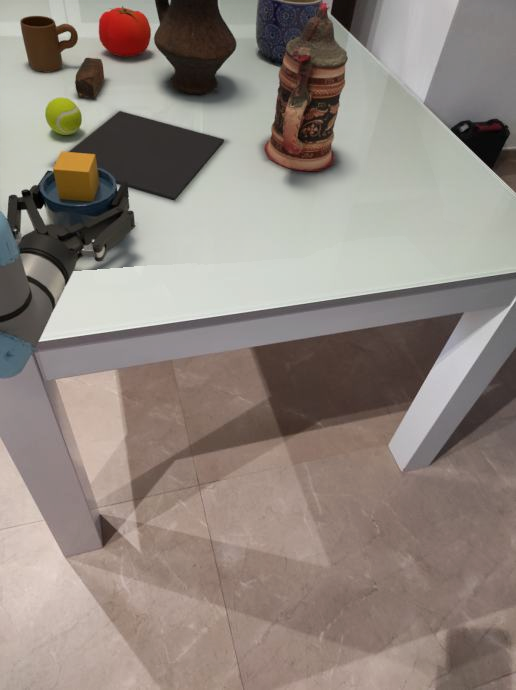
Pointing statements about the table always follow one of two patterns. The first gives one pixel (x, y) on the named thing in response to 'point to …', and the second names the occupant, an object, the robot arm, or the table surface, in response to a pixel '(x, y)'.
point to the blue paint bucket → (77, 210)
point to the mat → (149, 153)
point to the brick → (89, 77)
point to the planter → (282, 24)
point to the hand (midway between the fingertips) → (88, 183)
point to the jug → (193, 42)
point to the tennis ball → (63, 116)
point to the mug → (45, 42)
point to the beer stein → (308, 97)
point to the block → (76, 176)
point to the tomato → (124, 32)
